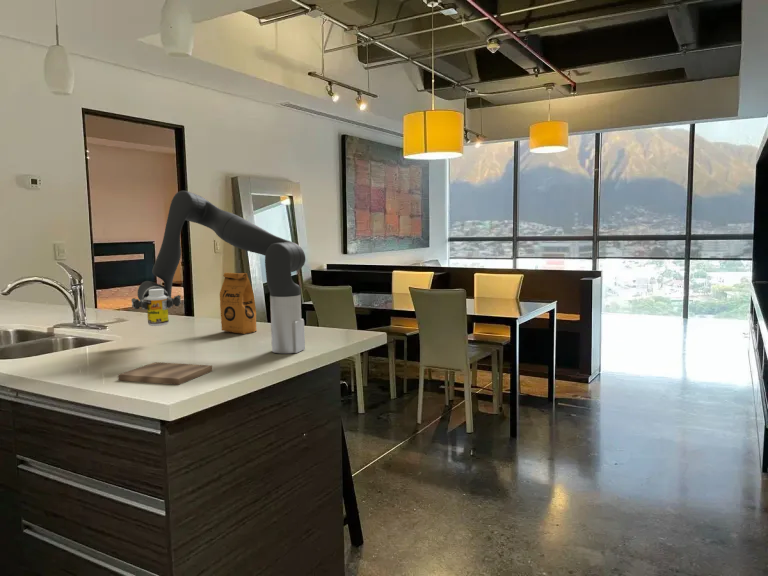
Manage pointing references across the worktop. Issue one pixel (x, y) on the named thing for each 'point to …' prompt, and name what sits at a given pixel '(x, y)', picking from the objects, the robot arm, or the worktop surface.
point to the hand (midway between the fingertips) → (157, 304)
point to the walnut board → (165, 373)
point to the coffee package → (237, 304)
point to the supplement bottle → (157, 308)
